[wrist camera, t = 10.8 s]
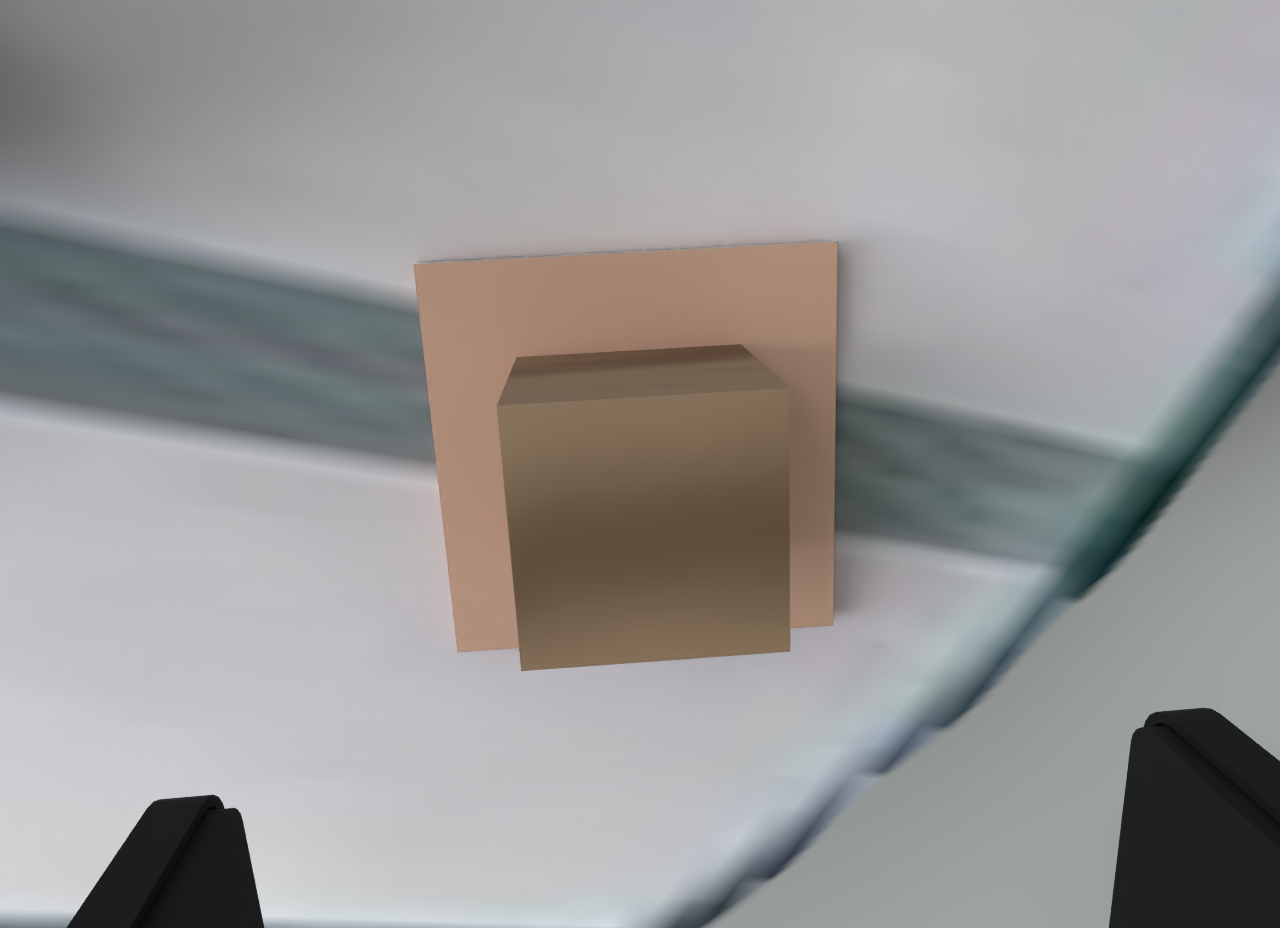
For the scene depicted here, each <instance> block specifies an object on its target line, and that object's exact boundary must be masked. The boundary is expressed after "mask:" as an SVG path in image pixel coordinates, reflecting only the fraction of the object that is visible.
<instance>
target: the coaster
mask: <svg viewBox="0 0 1280 928" xmlns="http://www.w3.org/2000/svg"><path fill="white" fill-rule="evenodd" d="M414 272H415V281H416V290H417V299H418V307H419V316H420V325H421V334H422V343H423V351H424V360H425V369H426V378H427V387H428V395H429V404H430V413H431V422H432V430H433V439H434V448H435V457H436V466H437V474H438V483H439V492H440V501H441V510H442V518H443V527H444V536H445V545H446V554H447V562H448V571H449V580H450V589H451V598H452V606H453V615H454V624H455V633H456V642H457V650H458V652H468V651H482V650H496V649H509V648H519V640H518V630H517V619H516V608H515V597H514V587H513V576H512V565H511V554H510V544H509V533H508V522H507V511H506V501H505V490H504V479H503V469H502V458H501V447H500V436H499V426H498V415H497V404H498V401H499V399H500V396H501V394H502V391H503V389H504V386H505V384H506V381H507V379H508V377H509V374H510V372H511V369H512V367H513V364H514V362H515V359H516V357H528V356H545V355H563V354H580V353H597V352H615V351H632V350H649V349H667V348H684V347H701V346H719V345H736V344H741V345H742V346H743V347H745V348H746V349H747V350H748V351H749V352H750V353H751V354H752V355H753V356H754V357H756V358H757V359H758V360H759V361H760V362H761V363H762V364H763V365H764V366H765V367H767V368H768V369H769V370H770V371H771V372H772V373H773V374H774V375H775V376H776V377H778V378H779V379H780V380H781V381H782V382H783V383H784V384H785V385H786V386H787V387H789V477H790V628H801V627H815V626H829V625H833V608H834V514H835V420H836V326H837V242H834V241H816V242H797V243H778V244H760V245H741V246H722V247H703V248H684V249H665V250H646V251H627V252H608V253H589V254H570V255H552V256H533V257H514V258H495V259H476V260H457V261H438V262H419V263H416V264H414Z"/></svg>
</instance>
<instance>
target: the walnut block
mask: <svg viewBox="0 0 1280 928" xmlns="http://www.w3.org/2000/svg"><path fill="white" fill-rule="evenodd" d="M497 415H498V426H499V436H500V447H501V458H502V469H503V479H504V490H505V501H506V511H507V522H508V533H509V544H510V554H511V565H512V576H513V587H514V597H515V608H516V619H517V630H518V640H519V651H520V662H521V671H528V670H542V669H555V668H569V667H583V666H596V665H610V664H624V663H637V662H651V661H665V660H679V659H692V658H706V657H720V656H733V655H747V654H761V653H774V652H788V651H790V477H789V387H787V386H786V385H785V384H784V383H783V382H782V381H781V380H780V379H779V378H778V377H776V376H775V375H774V374H773V373H772V372H771V371H770V370H769V369H768V368H767V367H765V366H764V365H763V364H762V363H761V362H760V361H759V360H758V359H757V358H756V357H754V356H753V355H752V354H751V353H750V352H749V351H748V350H747V349H746V348H745V347H743V346H742V345H741V344H736V345H719V346H701V347H684V348H667V349H649V350H632V351H615V352H597V353H580V354H563V355H545V356H528V357H516V359H515V362H514V364H513V367H512V369H511V372H510V374H509V377H508V379H507V381H506V384H505V386H504V389H503V391H502V394H501V396H500V399H499V401H498V404H497Z"/></svg>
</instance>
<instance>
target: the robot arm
mask: <svg viewBox="0 0 1280 928" xmlns="http://www.w3.org/2000/svg"><path fill="white" fill-rule="evenodd" d="M67 928H264V924H263V919H262V914H261V909H260V904H259V899H258V894H257V889H256V884H255V879H254V874H253V869H252V864H251V859H250V854H249V849H248V844H247V839H246V834H245V829H244V824H243V820H242V817H241V814H240V812H239V811H238V809H235V808H228V809H224V805H223V803H222V801H221V800H220V798H219V797H218V796H215V795H206V796H194V797H183V798H171V799H160V800H157V801H154V802H153V803H152V804H151V805H150V806H149V807H148V808H147V809H146V811H145V812H144V814H143V815H142V817H141V818H140V820H139V821H138V823H137V824H136V826H135V827H134V829H133V830H132V832H131V833H130V835H129V836H128V838H127V839H126V841H125V842H124V844H123V845H122V846H121V848H120V849H119V851H118V852H117V854H116V855H115V857H114V858H113V860H112V861H111V863H110V864H109V866H108V867H107V869H106V870H105V872H104V873H103V875H102V876H101V878H100V879H99V881H98V882H97V883H96V885H95V886H94V888H93V889H92V891H91V892H90V894H89V895H88V897H87V898H86V900H85V901H84V903H83V904H82V906H81V907H80V909H79V910H78V912H77V913H76V915H75V916H74V917H73V919H72V920H71V922H70V923H69V925H68V926H67ZM1109 928H1280V761H1279V760H1278V759H1276V758H1275V757H1274V756H1273V755H1271V754H1270V753H1269V752H1267V751H1266V750H1265V749H1264V748H1262V747H1261V746H1260V745H1259V744H1257V743H1256V742H1255V741H1254V740H1252V739H1251V738H1250V737H1249V736H1247V735H1246V734H1245V733H1244V732H1242V731H1241V730H1240V729H1239V728H1237V727H1236V726H1235V725H1234V724H1232V723H1231V722H1230V721H1229V720H1227V719H1226V718H1225V717H1223V716H1222V715H1221V714H1220V713H1218V712H1216V711H1214V710H1213V709H1209V708H1197V709H1185V710H1174V711H1162V712H1155V713H1153V714H1151V715H1149V717H1148V718H1147V720H1146V721H1145V724H1144V727H1142V728H1139V729H1137V730H1136V731H1135V732H1134V733H1133V736H1132V740H1131V746H1130V754H1129V763H1128V771H1127V780H1126V788H1125V796H1124V805H1123V813H1122V822H1121V830H1120V839H1119V847H1118V856H1117V864H1116V872H1115V881H1114V889H1113V898H1112V906H1111V915H1110V923H1109Z"/></svg>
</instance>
